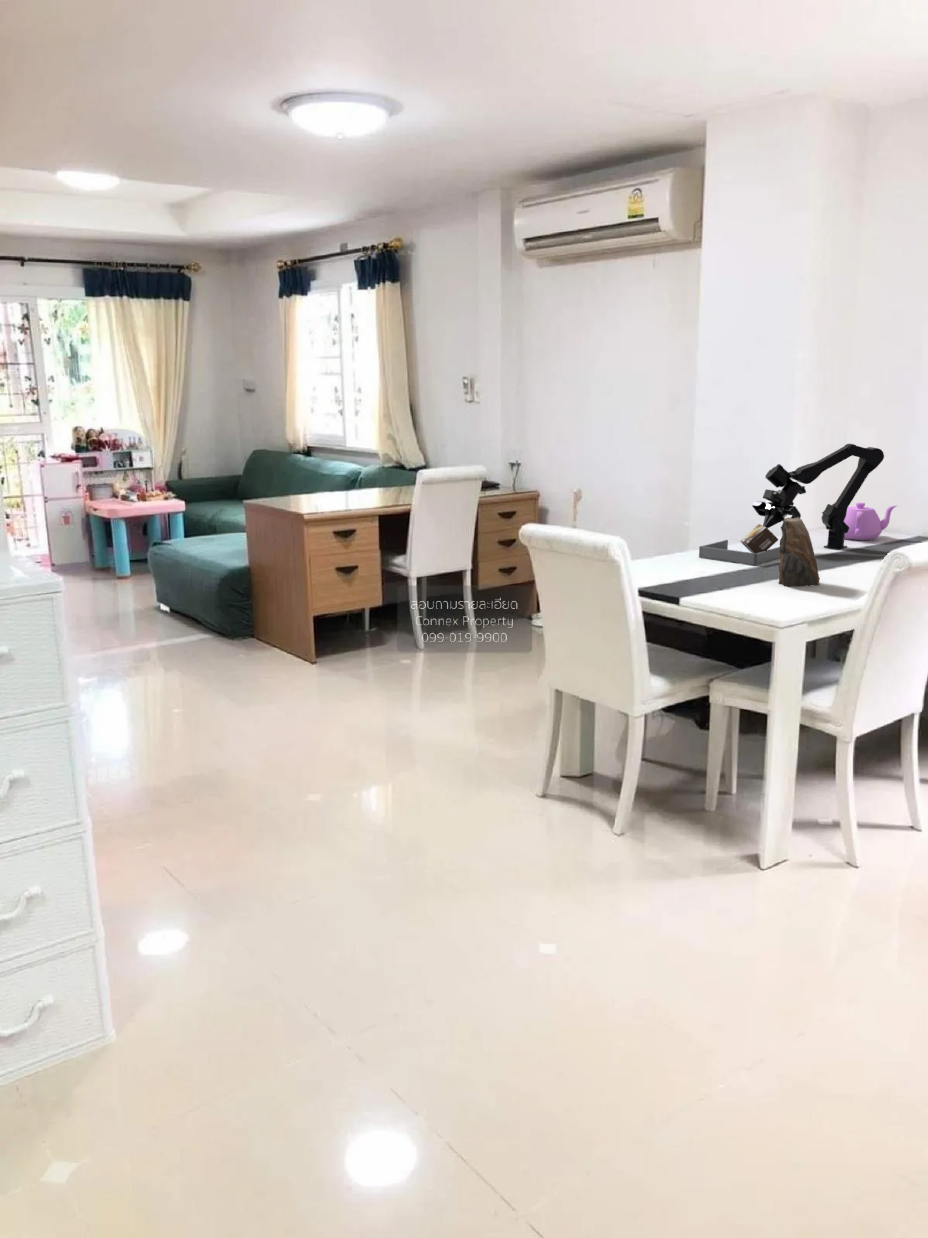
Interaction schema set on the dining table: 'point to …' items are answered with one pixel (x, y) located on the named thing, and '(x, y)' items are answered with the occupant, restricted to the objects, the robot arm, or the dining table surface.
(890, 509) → the teapot
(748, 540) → the coffee box
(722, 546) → the box
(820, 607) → the dining table surface
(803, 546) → the brown rock
